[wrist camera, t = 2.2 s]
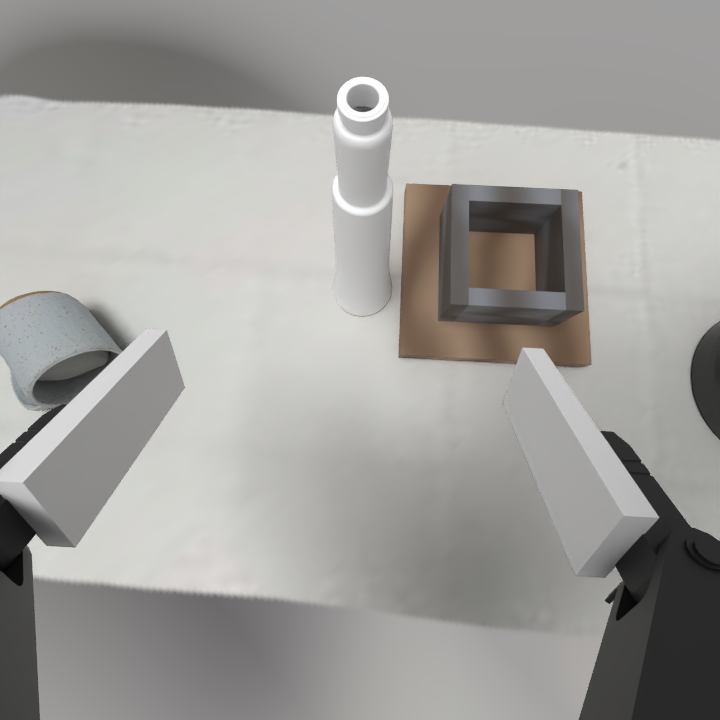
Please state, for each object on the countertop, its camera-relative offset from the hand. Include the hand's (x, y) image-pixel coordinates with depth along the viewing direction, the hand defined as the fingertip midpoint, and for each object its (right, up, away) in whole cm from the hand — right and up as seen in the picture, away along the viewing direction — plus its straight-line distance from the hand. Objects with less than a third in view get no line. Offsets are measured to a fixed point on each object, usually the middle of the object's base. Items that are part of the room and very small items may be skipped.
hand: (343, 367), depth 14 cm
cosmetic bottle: (+1, +8, +23) cm, 24 cm away
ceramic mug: (-27, 0, +22) cm, 35 cm away
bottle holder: (+14, +9, +23) cm, 29 cm away
